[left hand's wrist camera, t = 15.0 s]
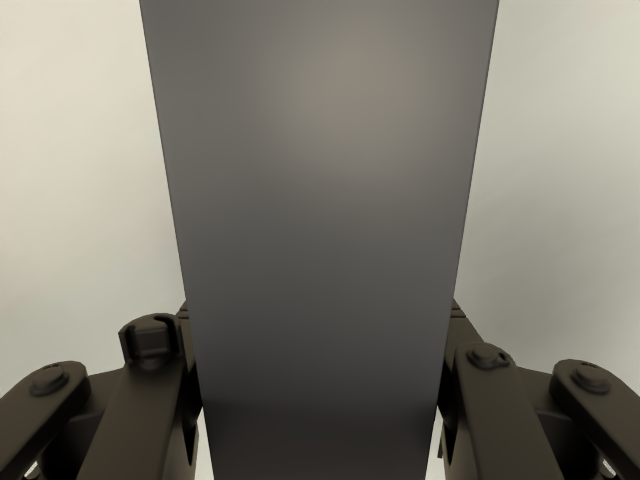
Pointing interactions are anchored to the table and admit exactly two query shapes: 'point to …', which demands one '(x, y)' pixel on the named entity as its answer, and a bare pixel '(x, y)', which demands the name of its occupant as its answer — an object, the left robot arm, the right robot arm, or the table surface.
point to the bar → (319, 219)
